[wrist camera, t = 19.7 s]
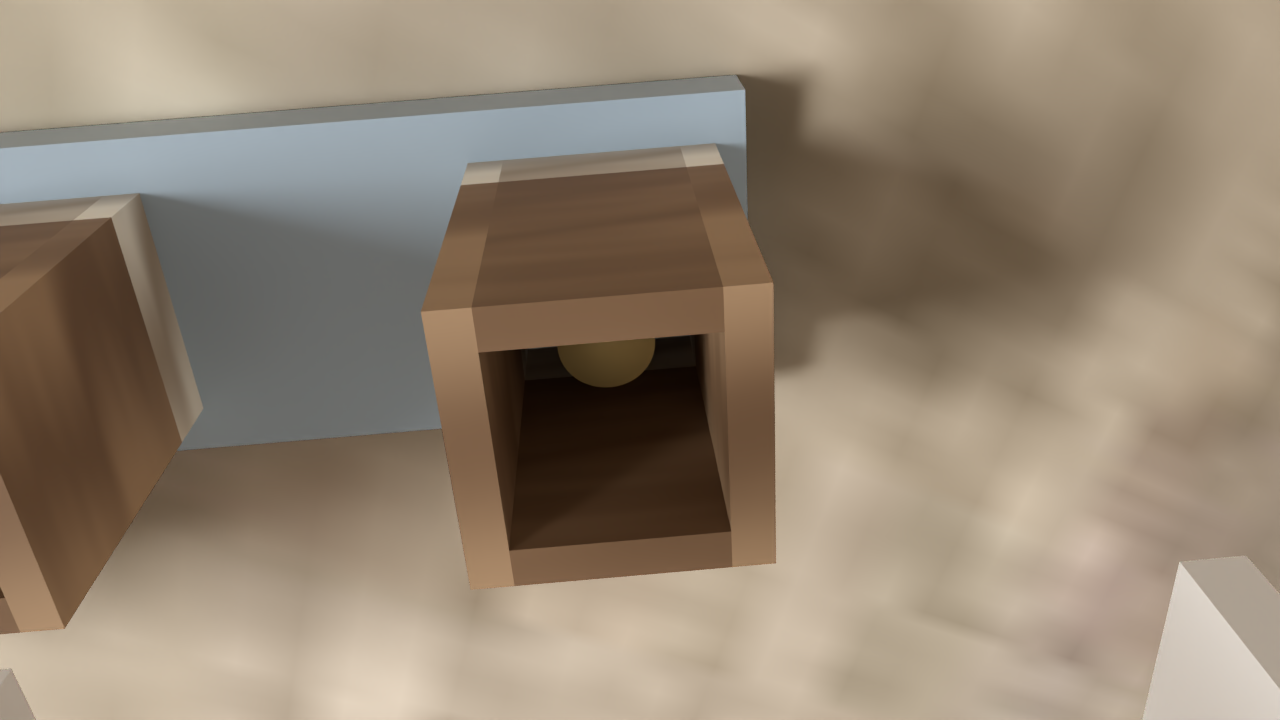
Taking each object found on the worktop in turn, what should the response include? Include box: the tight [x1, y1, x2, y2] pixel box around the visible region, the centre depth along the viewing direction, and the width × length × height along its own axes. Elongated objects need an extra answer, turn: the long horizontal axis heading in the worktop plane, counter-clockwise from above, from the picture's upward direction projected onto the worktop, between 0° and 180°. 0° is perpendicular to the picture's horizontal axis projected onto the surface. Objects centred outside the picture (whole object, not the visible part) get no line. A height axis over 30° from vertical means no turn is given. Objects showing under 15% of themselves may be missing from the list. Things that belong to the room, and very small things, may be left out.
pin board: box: [0, 75, 748, 451], centre depth 24 cm, size 8×20×6 cm, turn 94°
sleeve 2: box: [421, 143, 776, 590], centre depth 21 cm, size 6×6×8 cm
